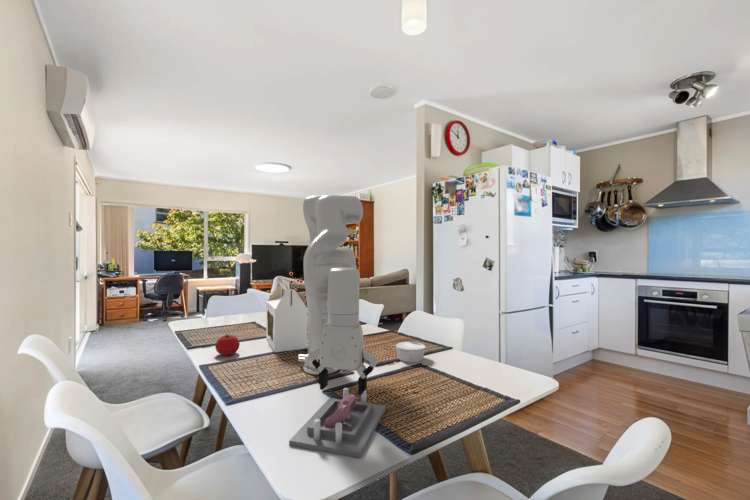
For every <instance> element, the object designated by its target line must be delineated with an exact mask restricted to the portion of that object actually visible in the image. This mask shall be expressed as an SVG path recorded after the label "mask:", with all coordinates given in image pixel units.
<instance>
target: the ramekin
mask: <svg viewBox="0 0 750 500" xmlns="http://www.w3.org/2000/svg"><path fill="white" fill-rule="evenodd" d="M395 349H396V353H397V359H398V360H399V361H401V362H403V363H410V364H413V363H420V362H422V361H423V360H424V356H425V351H426V350H427V349H426V345H425V344H424V343H421V342H417V341H416V342H415V341H402V342H398V343H396V344H395Z"/></svg>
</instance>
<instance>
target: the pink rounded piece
mask: <svg viewBox="0 0 750 500" xmlns="http://www.w3.org/2000/svg"><path fill="white" fill-rule="evenodd" d="M341 400H342V401H341V402H340V403H339V404H338V405H337V411H336V412H335V413H334V414H333V415H331V416H330V417H329V418H327V419H326V421H325V423H324V426H325V427H326V428H331V429H333V428H335V424H336V423H342V425H343V423H344V422H345V420H346V419H347V418H348V419H349V418H350V417H351V413H350V412H351V410H352V409H353V407H354V406H355V405H356V403H357V402H358V400H359V397H357V395H354V394H352V393H349V394H348V396H346V397H344V398H343V397H342V398H341Z"/></svg>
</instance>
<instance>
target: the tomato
mask: <svg viewBox="0 0 750 500" xmlns="http://www.w3.org/2000/svg"><path fill="white" fill-rule="evenodd" d="M240 345H241V344H240V340H239V338H238V337H237V336H234V335H231V334H228V333H226V334H225V335H223V336H220V337H219V338H218V339H217V341H216V342H215V345H214V346H215V347H214V348H215V351H216V352H217V353H218V354H219V355H222V356H232V355H233V354H235V353H236V352H237V351H238V350H239V349H240Z"/></svg>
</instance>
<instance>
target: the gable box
mask: <svg viewBox="0 0 750 500" xmlns="http://www.w3.org/2000/svg"><path fill="white" fill-rule="evenodd" d="M278 283H279V285H278V286H277V287H276V288H275V289H274V291H273V293H272V294H271V295H270V297H269V298H268V300H266V310H265V311H266V319H265V320H266V321H265V323H266V326H265V327H266V334H265V335H266V337H265V338H266V341H267V343H268V345H269V346H270V347H271V348H272V350H273V352H274V353H282V352H290V351H298V350H306V349H308V307H307V305H306V304H305V303H304V300H302V298H301V297H300V296H299V294H298V292H297V291H296V290H295V289H294V288H292V286H291V285H292V283H291V281H289V280H287V279H285V278H282V279H281V281H279V280H278Z"/></svg>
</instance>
